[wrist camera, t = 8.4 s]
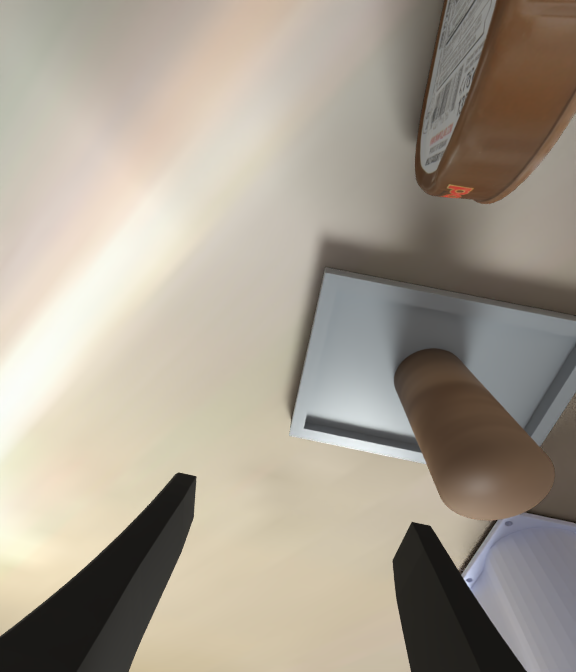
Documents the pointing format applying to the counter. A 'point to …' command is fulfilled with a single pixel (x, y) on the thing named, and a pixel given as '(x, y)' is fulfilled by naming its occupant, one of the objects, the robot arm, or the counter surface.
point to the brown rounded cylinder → (470, 439)
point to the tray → (418, 334)
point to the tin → (495, 95)
